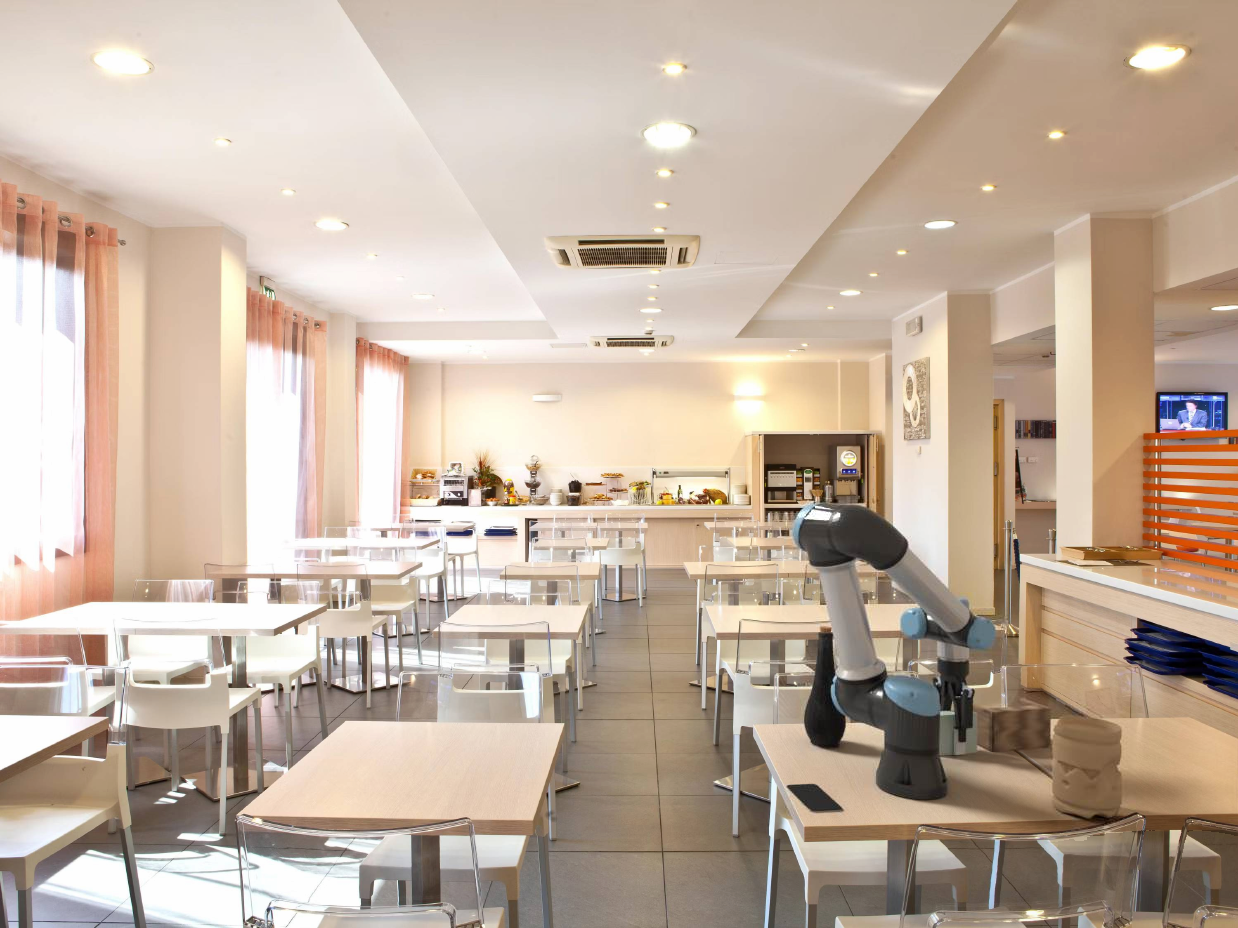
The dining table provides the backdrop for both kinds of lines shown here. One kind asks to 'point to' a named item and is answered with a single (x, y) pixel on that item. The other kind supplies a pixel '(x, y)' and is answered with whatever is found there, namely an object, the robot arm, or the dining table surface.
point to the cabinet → (1014, 726)
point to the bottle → (824, 698)
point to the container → (1086, 766)
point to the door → (948, 734)
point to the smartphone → (814, 798)
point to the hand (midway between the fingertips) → (952, 750)
